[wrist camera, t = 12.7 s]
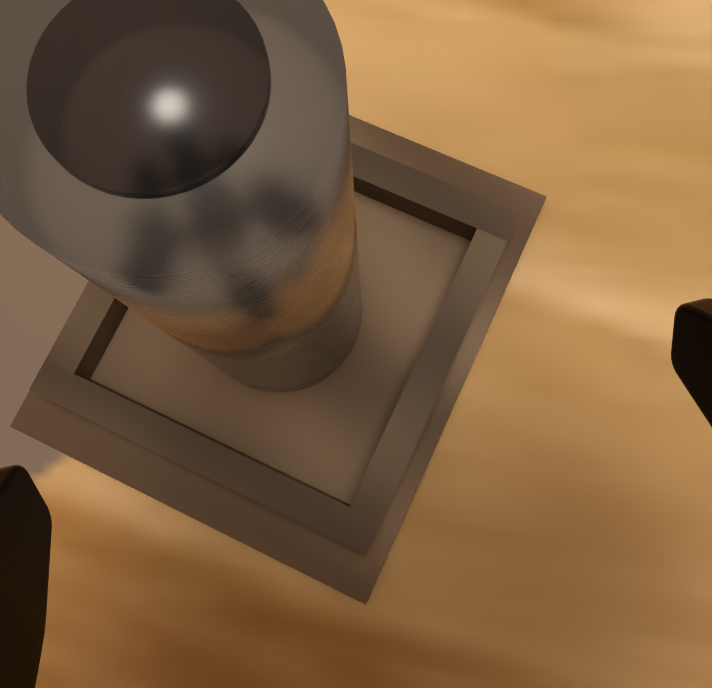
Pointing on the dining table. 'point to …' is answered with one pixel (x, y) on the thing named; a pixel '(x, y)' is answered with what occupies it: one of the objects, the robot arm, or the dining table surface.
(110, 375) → the grey square tray
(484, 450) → the dining table surface
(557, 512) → the dining table surface
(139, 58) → the grey cylindrical can
